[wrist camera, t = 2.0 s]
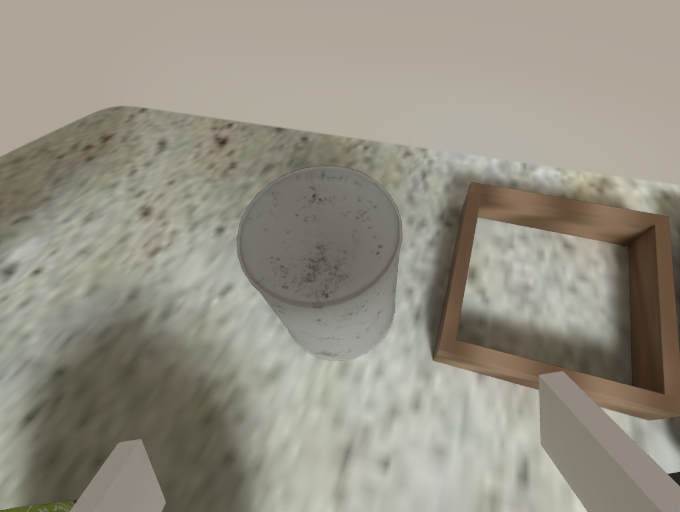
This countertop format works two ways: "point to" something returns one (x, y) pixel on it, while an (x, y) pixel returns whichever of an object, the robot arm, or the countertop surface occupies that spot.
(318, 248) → the grey speckled cylinder
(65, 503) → the tea box
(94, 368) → the countertop surface
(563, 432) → the robot arm
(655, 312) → the collar
